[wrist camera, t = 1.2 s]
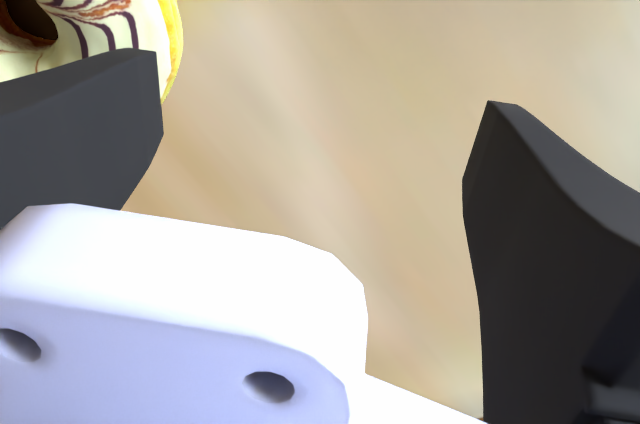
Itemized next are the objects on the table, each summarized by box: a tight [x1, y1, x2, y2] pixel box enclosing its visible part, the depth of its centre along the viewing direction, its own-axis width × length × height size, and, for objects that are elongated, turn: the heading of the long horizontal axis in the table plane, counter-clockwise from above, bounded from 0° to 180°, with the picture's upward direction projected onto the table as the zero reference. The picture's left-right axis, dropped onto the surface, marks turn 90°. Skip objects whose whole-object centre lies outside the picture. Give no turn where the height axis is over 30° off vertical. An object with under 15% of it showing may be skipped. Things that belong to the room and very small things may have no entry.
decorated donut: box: [0, 0, 183, 104], centre depth 19 cm, size 10×11×4 cm
